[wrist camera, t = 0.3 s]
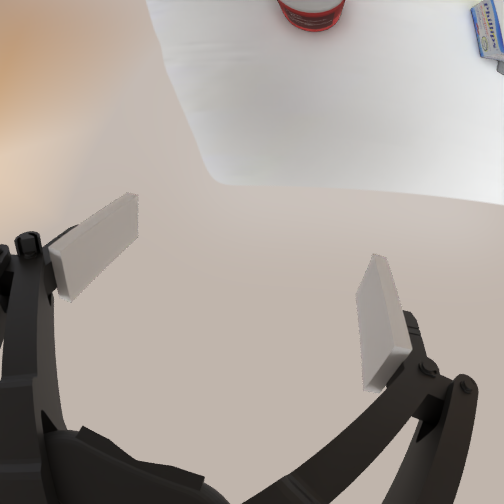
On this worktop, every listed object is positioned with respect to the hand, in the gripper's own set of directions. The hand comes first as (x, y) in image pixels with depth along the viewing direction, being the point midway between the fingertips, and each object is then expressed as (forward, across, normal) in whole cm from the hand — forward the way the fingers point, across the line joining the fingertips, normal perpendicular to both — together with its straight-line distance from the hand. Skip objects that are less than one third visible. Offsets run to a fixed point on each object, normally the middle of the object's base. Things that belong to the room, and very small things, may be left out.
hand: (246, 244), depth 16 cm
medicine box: (+27, +24, +27) cm, 45 cm away
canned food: (+28, -1, +21) cm, 35 cm away
